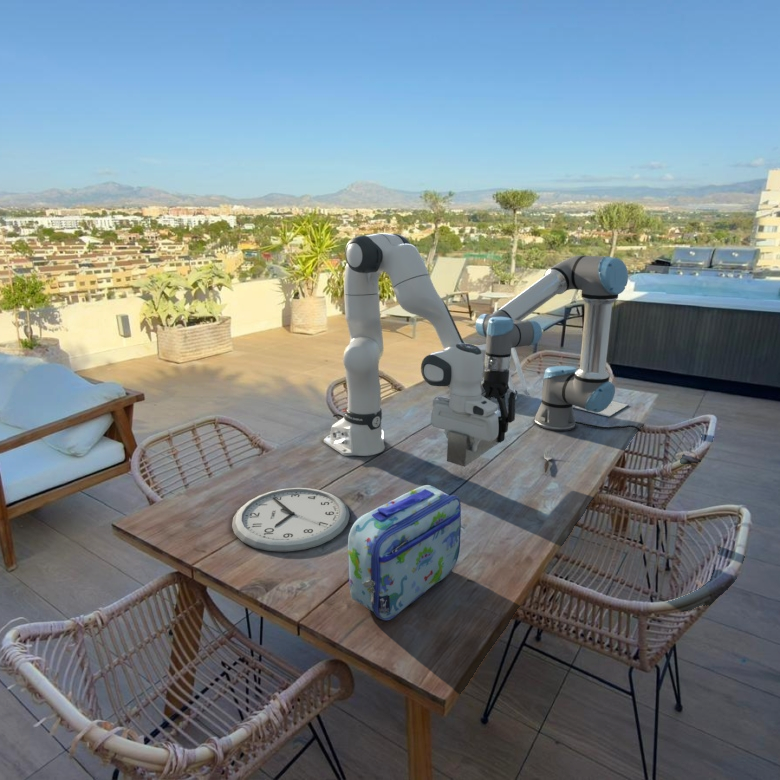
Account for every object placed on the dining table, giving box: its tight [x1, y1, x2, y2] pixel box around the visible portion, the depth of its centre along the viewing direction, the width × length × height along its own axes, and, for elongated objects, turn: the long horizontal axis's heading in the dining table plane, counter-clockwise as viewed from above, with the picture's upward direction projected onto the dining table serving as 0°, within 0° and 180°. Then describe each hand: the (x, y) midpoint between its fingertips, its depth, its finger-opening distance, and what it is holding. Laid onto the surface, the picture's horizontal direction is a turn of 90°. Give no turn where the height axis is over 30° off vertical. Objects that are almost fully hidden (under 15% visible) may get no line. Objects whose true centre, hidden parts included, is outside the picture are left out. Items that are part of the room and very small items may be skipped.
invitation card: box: [573, 400, 629, 418], centre depth 226 cm, size 21×1×15 cm
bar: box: [446, 409, 506, 467], centre depth 158 cm, size 26×6×9 cm, turn 143°
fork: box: [543, 448, 554, 473], centre depth 170 cm, size 3×16×2 cm, turn 160°
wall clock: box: [231, 487, 351, 553], centre depth 136 cm, size 30×2×30 cm
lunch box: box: [347, 484, 462, 621], centre depth 107 cm, size 26×11×21 cm, turn 134°
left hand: (462, 447), depth 150 cm, fingers closed on bar, 6 cm apart
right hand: (491, 438), depth 166 cm, fingers closed on bar, 6 cm apart
